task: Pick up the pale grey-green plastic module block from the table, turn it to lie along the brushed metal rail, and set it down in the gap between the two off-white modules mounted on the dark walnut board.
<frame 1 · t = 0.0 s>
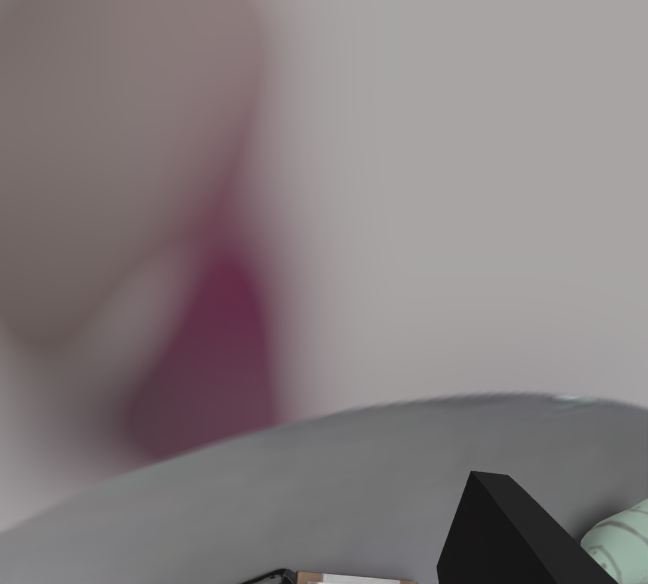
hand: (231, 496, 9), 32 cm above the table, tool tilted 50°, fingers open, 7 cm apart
robot head: (590, 551, 42), on the table
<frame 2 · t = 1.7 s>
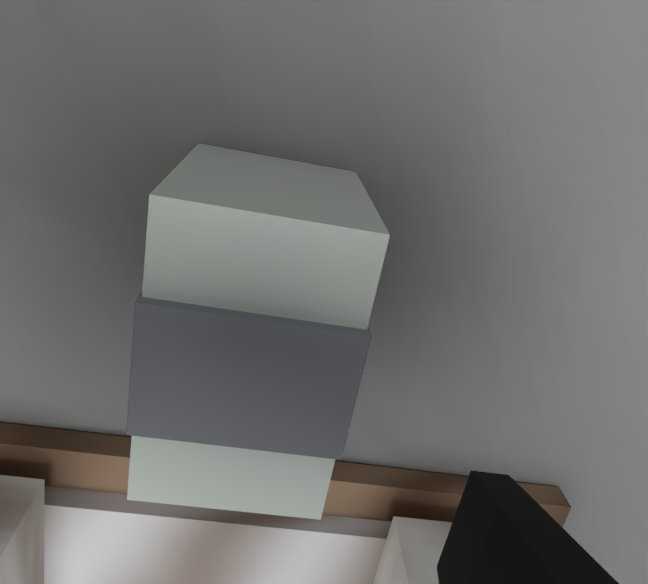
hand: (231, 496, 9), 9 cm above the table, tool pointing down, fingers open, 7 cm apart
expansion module: (260, 273, 17), on the table
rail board: (219, 536, 21), on the table
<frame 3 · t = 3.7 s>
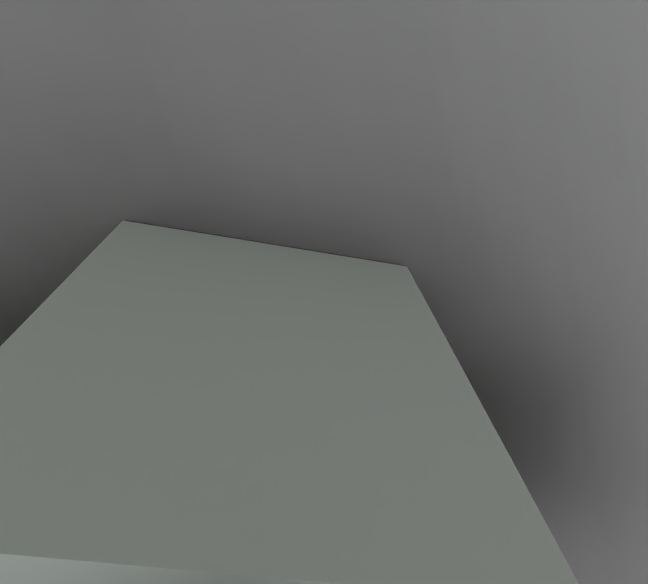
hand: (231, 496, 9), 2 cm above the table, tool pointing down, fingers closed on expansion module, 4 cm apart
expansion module: (239, 429, 10), on the table, touching gripper
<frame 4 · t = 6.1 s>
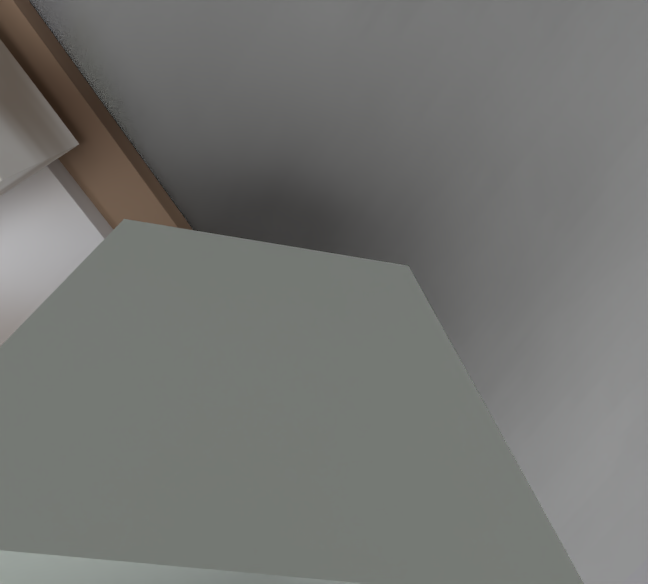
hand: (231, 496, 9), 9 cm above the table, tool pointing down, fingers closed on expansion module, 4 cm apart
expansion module: (240, 429, 10), point 8 cm above the table, touching gripper
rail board: (126, 347, 18), on the table
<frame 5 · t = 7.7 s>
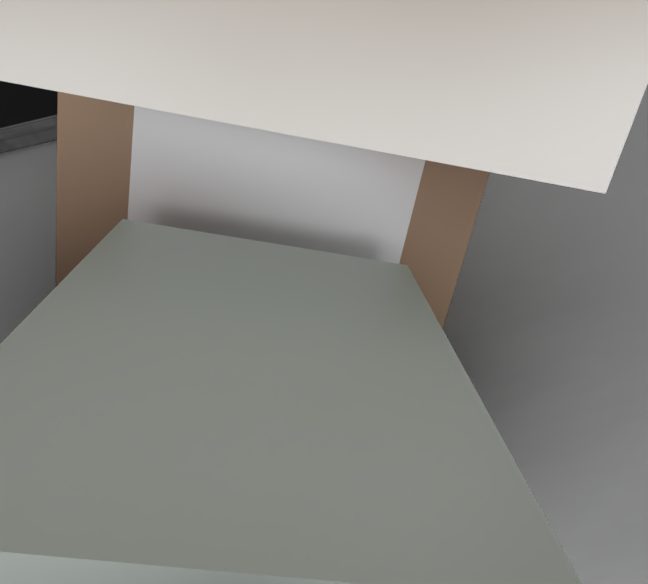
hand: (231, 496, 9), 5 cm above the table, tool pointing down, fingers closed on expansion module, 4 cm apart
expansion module: (239, 429, 10), point 3 cm above the table, touching gripper
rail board: (250, 340, 13), on the table
when the fingers open (4 cm above the table, at t = 8.7 s): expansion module stays where it is, resting on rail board.
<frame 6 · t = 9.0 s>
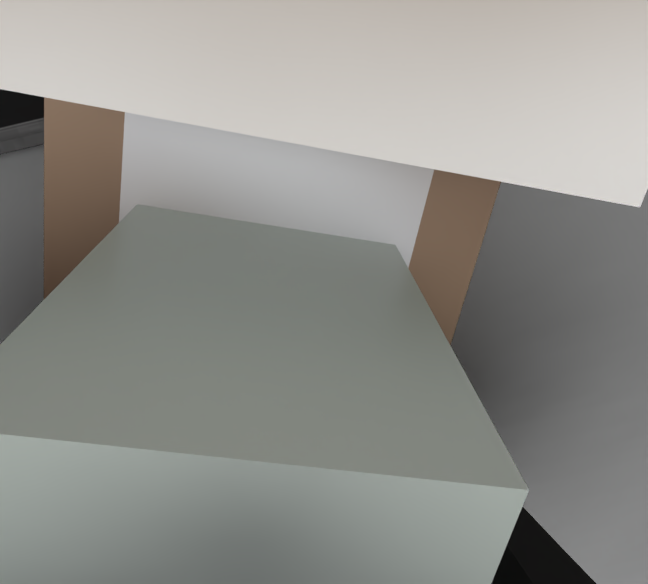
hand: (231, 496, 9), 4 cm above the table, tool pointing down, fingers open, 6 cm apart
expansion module: (244, 398, 11), point 2 cm above the table, touching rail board
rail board: (249, 353, 13), on the table
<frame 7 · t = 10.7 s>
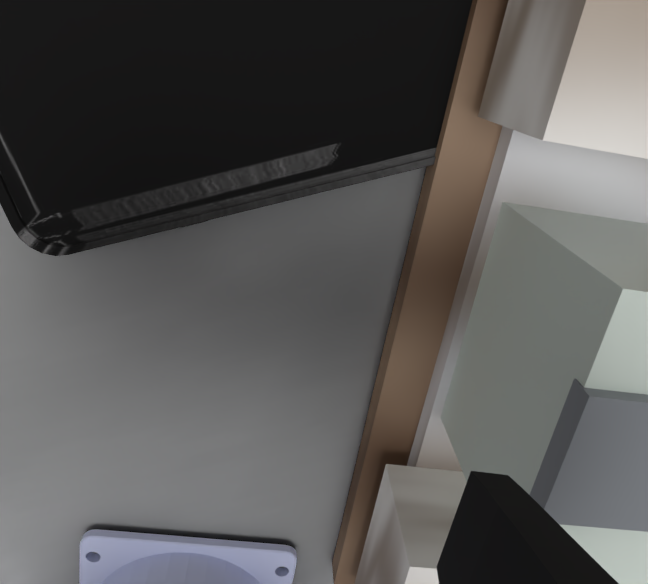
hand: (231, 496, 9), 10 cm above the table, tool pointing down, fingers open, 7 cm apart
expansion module: (540, 327, 17), point 2 cm above the table, touching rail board
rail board: (517, 302, 19), on the table
phone: (247, 58, 16), on the table
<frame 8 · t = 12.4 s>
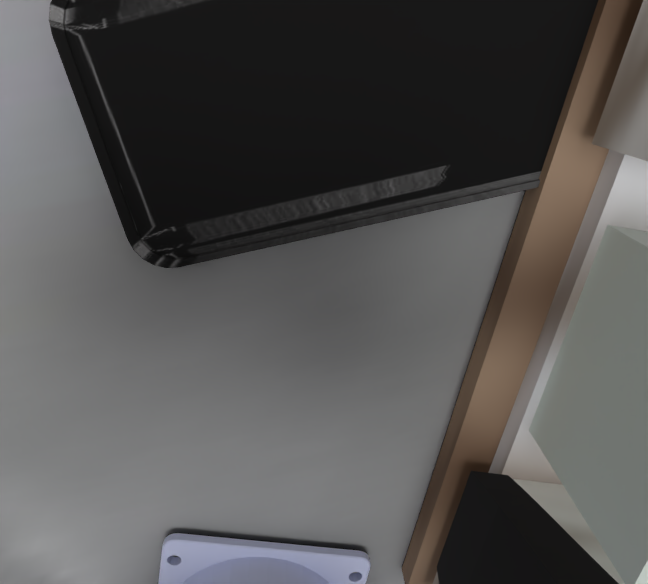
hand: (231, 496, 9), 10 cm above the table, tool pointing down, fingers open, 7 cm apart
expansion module: (631, 345, 17), point 2 cm above the table, touching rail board
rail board: (602, 319, 19), on the table
phone: (360, 81, 16), on the table
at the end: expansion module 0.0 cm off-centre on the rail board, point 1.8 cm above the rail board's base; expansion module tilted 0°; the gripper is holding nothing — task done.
